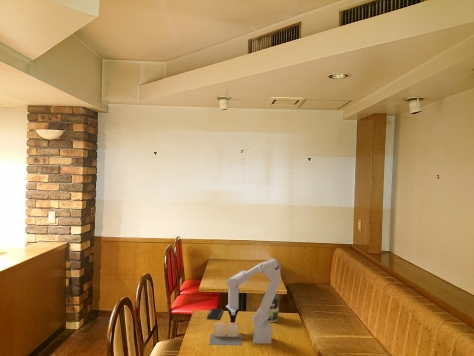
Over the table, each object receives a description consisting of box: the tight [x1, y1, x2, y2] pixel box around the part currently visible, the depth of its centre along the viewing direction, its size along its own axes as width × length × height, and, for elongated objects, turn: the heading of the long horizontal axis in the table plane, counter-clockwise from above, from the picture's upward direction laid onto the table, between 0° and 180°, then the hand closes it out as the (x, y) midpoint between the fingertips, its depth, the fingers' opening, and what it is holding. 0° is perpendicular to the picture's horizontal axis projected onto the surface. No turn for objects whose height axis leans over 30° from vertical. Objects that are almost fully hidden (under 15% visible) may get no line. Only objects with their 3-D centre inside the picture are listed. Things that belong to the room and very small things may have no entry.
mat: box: [208, 333, 243, 346], centre depth 177 cm, size 17×11×1 cm, turn 91°
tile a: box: [226, 322, 239, 337], centre depth 180 cm, size 6×1×7 cm, turn 91°
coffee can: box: [261, 292, 280, 323], centre depth 204 cm, size 10×10×14 cm
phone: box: [206, 308, 224, 321], centre depth 207 cm, size 8×1×15 cm
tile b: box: [213, 322, 227, 337], centre depth 180 cm, size 6×1×7 cm, turn 91°
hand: (232, 322), depth 186 cm, fingers closed
